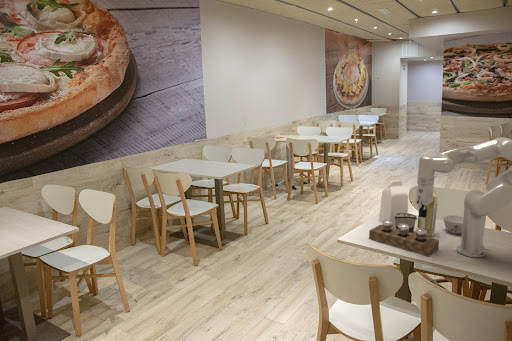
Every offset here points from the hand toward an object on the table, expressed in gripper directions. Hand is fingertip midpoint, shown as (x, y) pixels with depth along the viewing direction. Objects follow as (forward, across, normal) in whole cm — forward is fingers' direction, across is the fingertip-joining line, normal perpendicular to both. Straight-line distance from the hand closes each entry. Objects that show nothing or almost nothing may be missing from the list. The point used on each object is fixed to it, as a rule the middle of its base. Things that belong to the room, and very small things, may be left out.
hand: (422, 216), depth 201 cm
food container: (+17, +18, +17) cm, 30 cm away
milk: (+17, +26, +27) cm, 41 cm away
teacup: (+17, +36, -6) cm, 40 cm away
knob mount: (+17, 0, +9) cm, 19 cm away
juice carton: (+17, +22, +6) cm, 29 cm away
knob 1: (+13, 0, +18) cm, 22 cm away
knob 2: (+13, 0, +9) cm, 16 cm away
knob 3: (+13, 0, 0) cm, 13 cm away
